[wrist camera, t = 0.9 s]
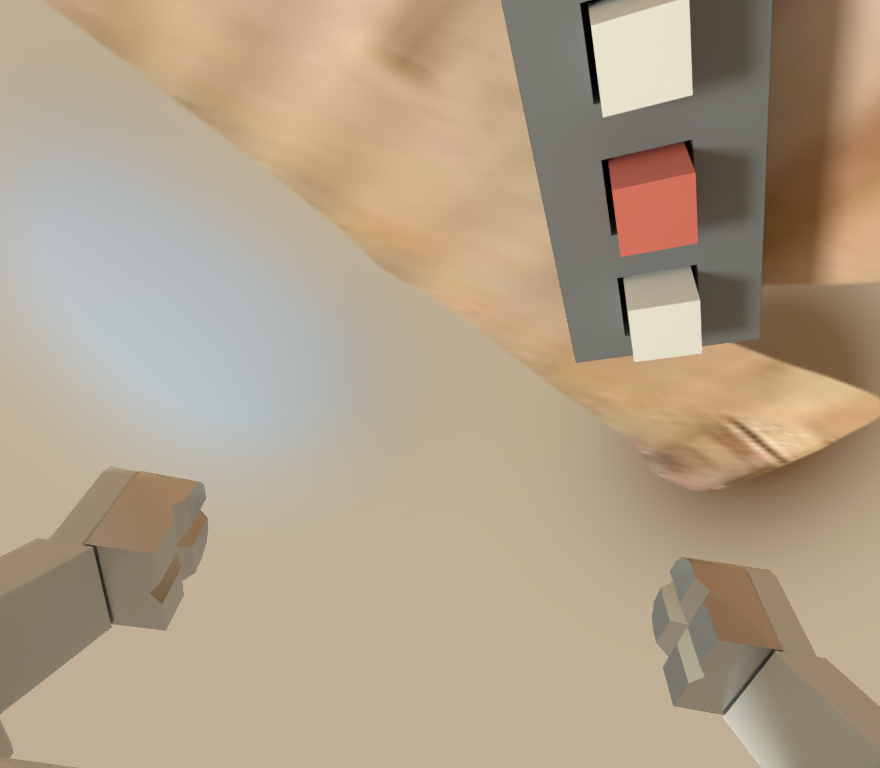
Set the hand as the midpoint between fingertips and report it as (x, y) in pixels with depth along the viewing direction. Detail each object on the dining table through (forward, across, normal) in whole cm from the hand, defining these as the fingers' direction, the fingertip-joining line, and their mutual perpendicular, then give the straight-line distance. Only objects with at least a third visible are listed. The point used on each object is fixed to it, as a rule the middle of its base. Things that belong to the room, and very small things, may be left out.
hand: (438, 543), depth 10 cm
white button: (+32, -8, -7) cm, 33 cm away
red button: (+33, -11, 0) cm, 35 cm away
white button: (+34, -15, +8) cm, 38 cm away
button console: (+36, -12, 0) cm, 38 cm away
